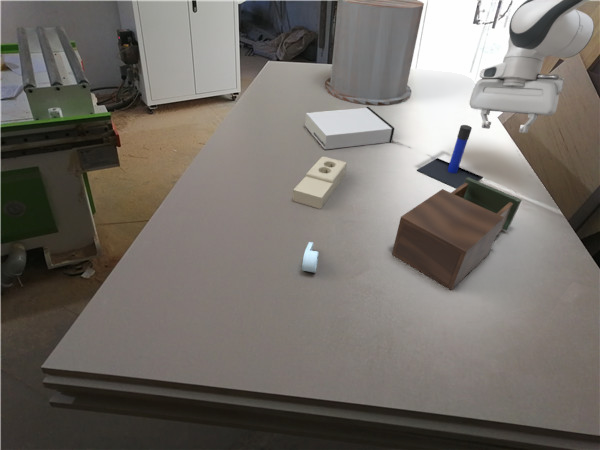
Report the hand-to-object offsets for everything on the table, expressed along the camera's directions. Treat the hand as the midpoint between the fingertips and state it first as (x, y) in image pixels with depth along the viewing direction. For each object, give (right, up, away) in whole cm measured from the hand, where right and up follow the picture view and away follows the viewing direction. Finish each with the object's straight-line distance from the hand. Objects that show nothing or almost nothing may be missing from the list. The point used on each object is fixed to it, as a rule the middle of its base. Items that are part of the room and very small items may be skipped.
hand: (503, 130), depth 103 cm
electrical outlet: (-47, -15, 0) cm, 49 cm away
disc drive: (-37, +5, +26) cm, 46 cm away
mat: (-10, -10, +9) cm, 16 cm away
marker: (-10, -9, +9) cm, 16 cm away
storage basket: (-24, +31, +62) cm, 74 cm away
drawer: (-13, -24, -12) cm, 30 cm away
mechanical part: (-50, -32, -23) cm, 63 cm away
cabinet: (-23, -30, -19) cm, 42 cm away
